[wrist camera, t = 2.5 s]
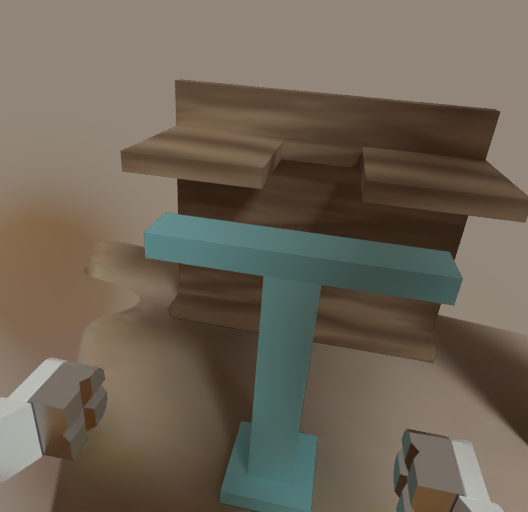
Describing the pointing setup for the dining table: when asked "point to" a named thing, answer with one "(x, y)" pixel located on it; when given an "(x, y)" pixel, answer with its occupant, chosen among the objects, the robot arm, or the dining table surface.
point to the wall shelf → (327, 193)
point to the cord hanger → (292, 331)
